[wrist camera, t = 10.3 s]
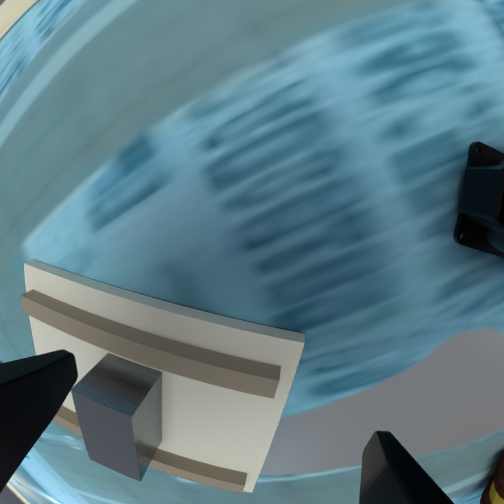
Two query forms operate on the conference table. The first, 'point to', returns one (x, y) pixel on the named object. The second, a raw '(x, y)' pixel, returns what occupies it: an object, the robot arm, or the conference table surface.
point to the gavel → (495, 487)
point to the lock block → (120, 414)
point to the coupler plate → (174, 370)
